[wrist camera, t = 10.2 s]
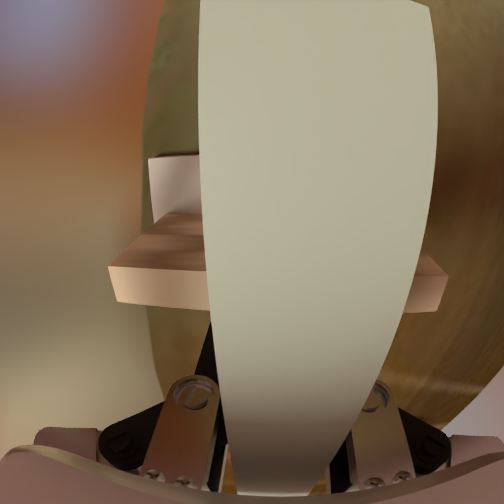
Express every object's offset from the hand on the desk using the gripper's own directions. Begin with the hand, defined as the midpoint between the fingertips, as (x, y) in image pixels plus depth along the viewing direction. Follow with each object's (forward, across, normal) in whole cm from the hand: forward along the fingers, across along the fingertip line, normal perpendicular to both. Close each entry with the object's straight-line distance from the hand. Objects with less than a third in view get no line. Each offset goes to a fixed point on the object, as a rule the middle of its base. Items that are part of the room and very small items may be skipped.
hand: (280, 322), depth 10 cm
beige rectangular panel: (+8, 0, 0) cm, 8 cm away
